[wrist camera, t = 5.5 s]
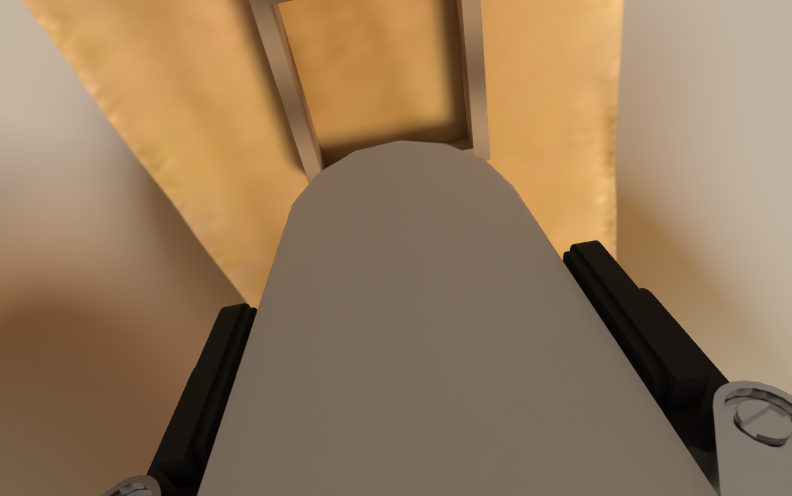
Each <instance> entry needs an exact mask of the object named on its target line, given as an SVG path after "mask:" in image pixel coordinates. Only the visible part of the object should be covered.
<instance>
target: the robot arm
mask: <svg viewBox="0 0 792 496" xmlns="http://www.w3.org/2000/svg"><path fill="white" fill-rule="evenodd" d="M563 262H564V264H565V265H566V267H567V268H568V270H569V271H570V273H571V274H572V276H573V277H574V279H575V280H576V282H577V283H578V285H579V286H580V288H581V289H582V291H583V292H584V294H585V295H586V297H587V298H588V300H589V301H590V303H591V304H592V306H593V307H594V309H595V310H596V312H597V314H598V315H599V317H600V318H601V320H602V321H603V323H604V324H605V326H606V327H607V329H608V330H609V332H610V333H611V335H612V336H613V338H614V339H615V341H616V342H617V344H618V345H619V347H620V348H621V350H622V351H623V353H624V354H625V356H626V357H627V359H628V360H629V362H630V363H631V365H632V366H633V368H634V369H635V371H636V372H637V374H638V375H639V377H640V378H641V380H642V382H643V383H644V385H645V386H646V388H647V389H648V391H649V392H650V394H651V395H652V397H653V398H654V400H655V401H656V403H657V404H658V406H659V407H660V409H661V410H662V412H663V413H664V415H665V416H666V418H667V419H668V421H669V422H670V424H671V425H672V427H673V428H674V430H675V431H676V433H677V434H678V436H679V437H680V439H681V440H682V442H683V443H684V445H685V447H686V448H687V450H688V451H689V453H690V454H691V456H692V457H693V459H694V460H695V462H696V463H697V465H698V466H699V468H700V469H701V471H702V472H703V474H704V475H705V477H706V478H707V480H708V481H709V483H710V484H711V486H712V487H713V489H714V490H715V492H716V493H717V495H718V496H792V395H790V394H788V393H786V392H784V391H782V390H780V389H778V388H776V387H773V386H770V385H766V384H763V383H760V382H752V381H736V382H729V381H728V380H727V379H726V378H725V377H724V375H723V374H722V373H721V372H720V371H719V370H718V369H717V367H716V366H715V365H714V364H713V363H712V362H711V361H710V360H709V358H708V357H707V356H706V355H705V354H704V352H703V351H702V350H701V349H700V348H699V347H698V346H697V344H696V343H695V342H694V341H693V340H692V339H691V338H690V336H689V335H688V334H687V333H686V332H685V331H684V329H683V328H682V327H681V326H680V325H679V324H678V323H677V321H676V320H675V319H674V318H673V317H672V316H671V315H670V313H669V312H668V311H667V310H666V309H665V308H664V306H662V304H661V303H660V302H659V301H658V300H657V298H656V297H655V296H654V295H653V294H652V293H651V292H649V290H647V289H644V288H640V289H639V288H638V287H637V286H636V284H635V283H634V282H633V281H632V280H631V279H630V277H629V276H628V275H627V274H626V273H625V271H624V270H623V269H622V268H621V267H620V266H619V264H618V263H617V262H616V261H615V260H614V258H613V257H612V256H611V255H610V254H609V252H608V251H607V250H606V249H605V248H604V246H603V245H602V244H601V243H600V242H599V241H596V240H595V241H589V242H583V243H578V244H573V245H572V246H571V248H570V251H567V252H564V255H563ZM257 311H258V310H257V309H256V308H250V306H249V305H248V304H246V303H243V304H238V305H232V306H227V307H223V308H222V309H221V310H220V312H219V315H218V317H217V319H216V321H215V324H214V326H213V328H212V330H211V333H210V335H209V337H208V340H207V342H206V344H205V346H204V349H203V351H202V354H201V356H200V358H199V360H198V363H197V365H196V367H195V368H194V370H193V371H192V373H191V375H190V377H189V380H188V382H187V384H186V387H185V389H184V391H183V393H182V396H181V398H180V400H179V402H178V405H177V407H176V409H175V411H174V414H173V416H172V418H171V421H170V423H169V425H168V427H167V430H166V432H165V434H164V436H163V439H162V441H161V443H160V445H159V448H158V450H157V452H156V455H155V457H154V459H153V462H152V464H151V466H150V468H149V470H148V473H147V475H137V476H133V477H129V478H127V479H125V480H123V481H121V482H119V483H117V484H116V485H114V486H113V487H112V488H110V489H109V490H107V491H106V492H105V493H104V494H103V495H102V496H197V494H198V491H199V488H200V485H201V482H202V479H203V476H204V473H205V470H206V467H207V464H208V461H209V458H210V455H211V451H212V448H213V445H214V442H215V439H216V436H217V433H218V430H219V427H220V424H221V421H222V418H223V415H224V412H225V409H226V406H227V403H228V399H229V396H230V393H231V390H232V387H233V384H234V381H235V378H236V375H237V372H238V369H239V366H240V363H241V360H242V357H243V354H244V351H245V347H246V344H247V341H248V338H249V335H250V332H251V329H252V326H253V323H254V320H255V317H256V314H257Z"/></svg>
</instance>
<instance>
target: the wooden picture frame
mask: <svg viewBox="0 0 792 496" xmlns="http://www.w3.org/2000/svg"><path fill="white" fill-rule="evenodd" d="M287 1H291V0H249V3H250V6H251V9H252V12H253V15H254V18H255V21H256V24H257V27H258V30H259V33H260V36H261V39H262V42H263V45H264V48H265V51H266V54H267V58H268V61H269V64H270V67H271V70H272V73H273V76H274V79H275V82H276V85H277V88H278V91H279V94H280V97H281V100H282V103H283V106H284V109H285V112H286V115H287V118H288V121H289V124H290V127H291V130H292V134H293V137H294V140H295V143H296V146H297V149H298V152H299V155H300V158H301V161H302V164H303V167H304V170H305V173H306V176H307V179H308V182H309V184H310V182H311V181H312V180H313V179H314V178H315V176H316V175H317V174H318V173H319V172H321V171H323V170H324V169H326V168H328V167H329V166H331V165H333V164H331V165H326V166H325V163H324V159H323V156H322V153H321V149H320V146H319V143H318V139H317V136H316V133H315V129H314V126H313V122H312V119H311V116H310V112H309V109H308V106H307V102H306V99H305V95H304V92H303V89H302V85H301V82H300V79H299V75H298V72H297V69H296V65H295V62H294V58H293V55H292V52H291V48H290V45H289V42H288V38H287V35H286V31H285V28H284V25H283V21H282V18H281V15H280V11H279V8H278V5H277V4H278V3H282V2H287ZM456 12H457V23H458V34H459V46H460V57H461V68H462V79H463V91H464V102H465V113H466V125H467V136H468V138H464V139H459V140H454V141H449V142H444V143H443V144H447V145H450V146H452V147H455V148H457V149H459V150H462V151H464V152H467V153H469V154H471V155H474V156H476V157H479V158H481V159H483V160H485V161H486V160H490V151H489V134H488V117H487V100H486V83H485V67H484V50H483V33H482V16H481V0H456Z"/></svg>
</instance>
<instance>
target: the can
mask: <svg viewBox="0 0 792 496" xmlns="http://www.w3.org/2000/svg"><path fill="white" fill-rule="evenodd" d="M197 496H718V495H717V493H716V492H715V490H714V489H713V487H712V486H711V484H710V483H709V481H708V480H707V478H706V477H705V475H704V474H703V472H702V471H701V469H700V468H699V466H698V465H697V463H696V462H695V460H694V459H693V457H692V456H691V454H690V453H689V451H688V450H687V448H686V447H685V445H684V443H683V442H682V440H681V439H680V437H679V436H678V434H677V433H676V431H675V430H674V428H673V427H672V425H671V424H670V422H669V421H668V419H667V418H666V416H665V415H664V413H663V412H662V410H661V409H660V407H659V406H658V404H657V403H656V401H655V400H654V398H653V397H652V395H651V394H650V392H649V391H648V389H647V388H646V386H645V385H644V383H643V382H642V380H641V378H640V377H639V375H638V374H637V372H636V371H635V369H634V368H633V366H632V365H631V363H630V362H629V360H628V359H627V357H626V356H625V354H624V353H623V351H622V350H621V348H620V347H619V345H618V344H617V342H616V341H615V339H614V338H613V336H612V335H611V333H610V332H609V330H608V329H607V327H606V326H605V324H604V323H603V321H602V320H601V318H600V317H599V315H598V314H597V312H596V310H595V309H594V307H593V306H592V304H591V303H590V301H589V300H588V298H587V297H586V295H585V294H584V292H583V291H582V289H581V288H580V286H579V285H578V283H577V282H576V280H575V279H574V277H573V276H572V274H571V273H570V271H569V270H568V268H567V267H566V265H565V264H564V262H563V261H562V259H561V258H560V256H559V255H558V253H557V252H556V250H555V249H554V247H553V246H552V244H551V242H550V241H549V239H548V238H547V236H546V235H545V233H544V232H543V230H542V229H541V227H540V226H539V224H538V223H537V221H536V220H535V218H534V217H533V215H532V214H531V212H530V211H529V209H528V208H527V206H526V205H525V203H524V202H523V200H522V199H521V197H520V196H519V194H518V193H517V191H516V190H515V188H514V187H513V186H512V185H511V184H510V183H509V182H508V181H507V180H506V179H505V178H504V177H503V176H502V175H501V174H499V173H498V172H497V171H496V170H495V169H494V168H493V167H492V166H491V165H490V164H489V163H487V162H486V161H485V160H483V159H481V158H479V157H476V156H474V155H471V154H469V153H467V152H464V151H462V150H459V149H457V148H455V147H452V146H450V145H447V144H443V143H429V142H416V141H402V140H399V141H395V142H391V143H386V144H382V145H378V146H374V147H370V148H365V149H361V150H357V151H354V152H353V153H351V154H349V155H348V156H346V157H344V158H343V159H341V160H339V161H338V162H336V163H334V164H333V165H331V166H329V167H328V168H326V169H324V170H323V171H321V172H319V173H318V174H317V175H316V176H315V178H314V179H313V180H312V181H311V182H310V184H309V185H308V186H307V187H306V188H305V190H304V191H303V192H302V193H301V194H300V196H299V197H298V198H297V199H296V201H295V202H294V203H293V204H292V207H291V210H290V213H289V216H288V219H287V222H286V225H285V228H284V231H283V234H282V237H281V240H280V243H279V247H278V250H277V253H276V256H275V259H274V262H273V265H272V268H271V271H270V274H269V277H268V280H267V283H266V286H265V289H264V292H263V295H262V299H261V302H260V305H259V308H258V311H257V314H256V317H255V320H254V323H253V326H252V329H251V332H250V335H249V338H248V341H247V344H246V347H245V351H244V354H243V357H242V360H241V363H240V366H239V369H238V372H237V375H236V378H235V381H234V384H233V387H232V390H231V393H230V396H229V399H228V403H227V406H226V409H225V412H224V415H223V418H222V421H221V424H220V427H219V430H218V433H217V436H216V439H215V442H214V445H213V448H212V451H211V455H210V458H209V461H208V464H207V467H206V470H205V473H204V476H203V479H202V482H201V485H200V488H199V491H198V494H197Z"/></svg>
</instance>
